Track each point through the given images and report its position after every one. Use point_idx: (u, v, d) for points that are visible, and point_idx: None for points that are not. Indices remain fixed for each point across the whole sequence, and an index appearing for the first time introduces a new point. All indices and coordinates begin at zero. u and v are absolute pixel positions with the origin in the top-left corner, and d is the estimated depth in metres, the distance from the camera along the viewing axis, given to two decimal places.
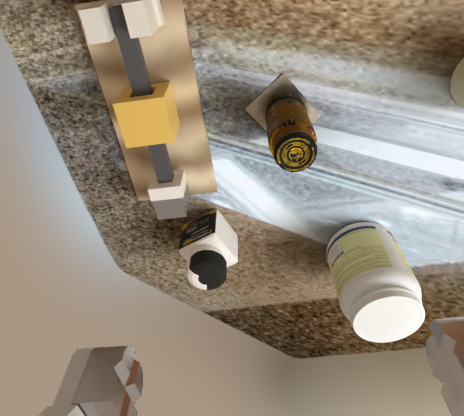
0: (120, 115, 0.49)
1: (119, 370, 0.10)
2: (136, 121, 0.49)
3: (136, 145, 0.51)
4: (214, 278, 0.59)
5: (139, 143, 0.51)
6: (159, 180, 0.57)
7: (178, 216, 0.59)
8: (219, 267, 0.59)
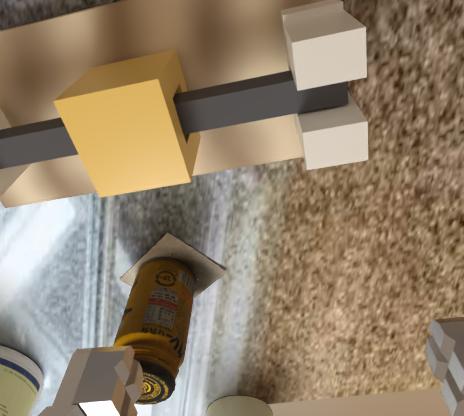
0: (133, 94, 0.21)
1: (119, 370, 0.10)
2: (127, 128, 0.22)
3: (66, 124, 0.22)
4: None
5: (75, 131, 0.22)
6: None
7: None
8: None
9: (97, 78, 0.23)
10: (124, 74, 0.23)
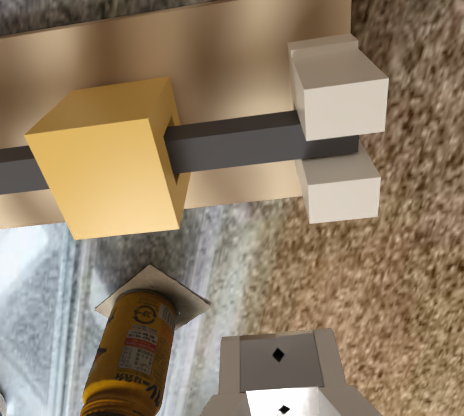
0: (118, 133, 0.18)
1: (272, 358, 0.10)
2: (109, 169, 0.19)
3: (39, 160, 0.19)
4: None
5: (48, 169, 0.19)
6: None
7: None
8: None
9: (78, 107, 0.21)
10: (109, 106, 0.20)
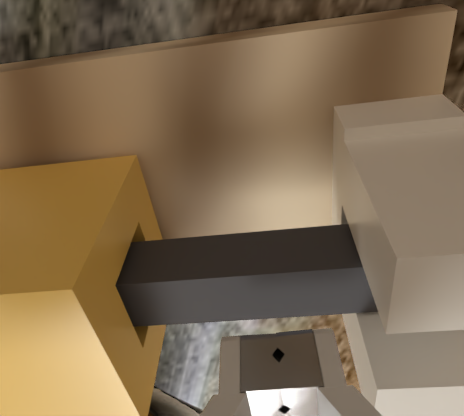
0: (18, 309, 0.09)
1: (273, 358, 0.10)
2: (11, 355, 0.10)
3: None
4: None
5: None
6: None
7: None
8: None
9: None
10: (18, 229, 0.11)
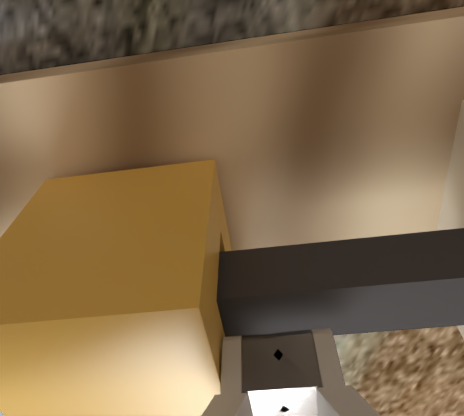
0: (132, 330, 0.08)
1: (274, 358, 0.10)
2: (111, 380, 0.10)
3: None
4: None
5: None
6: None
7: None
8: None
9: (51, 236, 0.11)
10: (111, 241, 0.10)
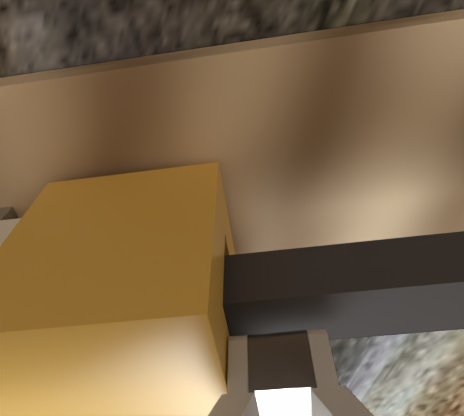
0: (139, 337, 0.08)
1: (280, 357, 0.10)
2: (117, 387, 0.09)
3: None
4: None
5: None
6: None
7: None
8: None
9: (54, 241, 0.11)
10: (116, 246, 0.10)
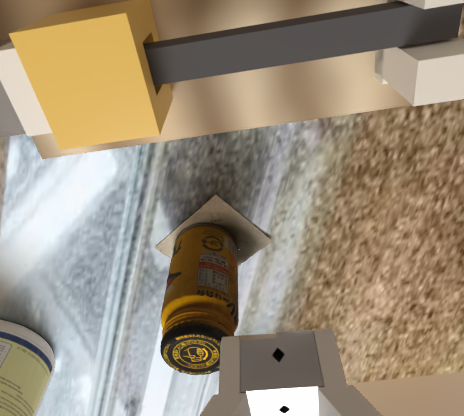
0: (98, 30, 0.19)
1: (272, 358, 0.10)
2: (91, 70, 0.20)
3: (24, 61, 0.20)
4: None
5: (33, 70, 0.20)
6: None
7: None
8: None
9: (61, 18, 0.22)
10: (90, 13, 0.21)
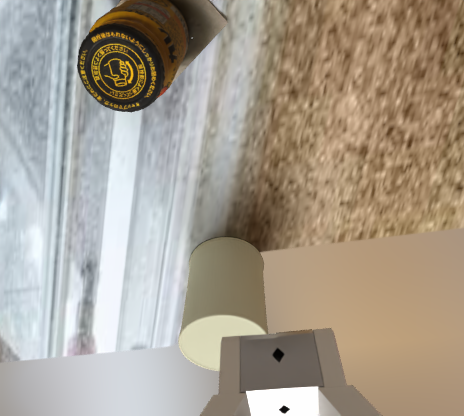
0: None
1: (273, 358, 0.10)
2: None
3: None
4: None
5: None
6: None
7: None
8: None
9: None
10: None
